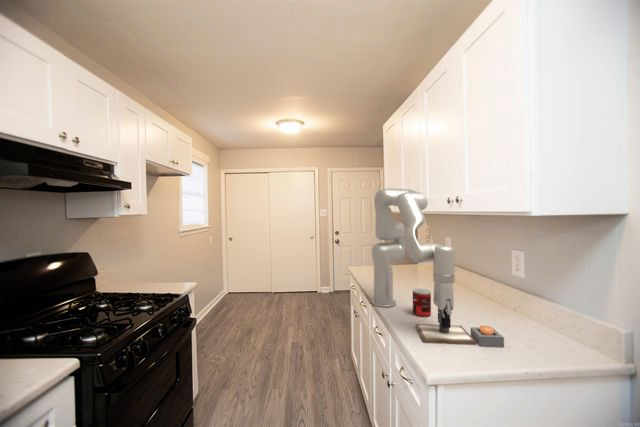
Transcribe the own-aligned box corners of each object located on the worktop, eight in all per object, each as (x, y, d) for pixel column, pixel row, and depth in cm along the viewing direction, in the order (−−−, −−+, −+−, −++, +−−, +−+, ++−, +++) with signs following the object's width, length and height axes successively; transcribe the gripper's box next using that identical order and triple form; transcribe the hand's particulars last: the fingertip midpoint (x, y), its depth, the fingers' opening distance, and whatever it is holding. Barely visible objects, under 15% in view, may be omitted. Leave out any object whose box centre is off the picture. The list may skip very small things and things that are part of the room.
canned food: (414, 310, 138) (414, 287, 138) (432, 313, 134) (432, 289, 134) (411, 315, 131) (410, 291, 131) (429, 318, 127) (429, 294, 127)
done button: (477, 333, 107) (477, 325, 107) (490, 333, 107) (490, 325, 107) (482, 338, 103) (482, 330, 103) (495, 339, 102) (495, 330, 102)
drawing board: (415, 327, 118) (415, 323, 118) (461, 328, 116) (461, 325, 116) (423, 342, 104) (423, 338, 104) (475, 344, 102) (475, 340, 102)
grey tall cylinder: (437, 328, 113) (437, 300, 112) (447, 328, 112) (447, 300, 112) (440, 332, 109) (440, 303, 109) (451, 332, 108) (451, 304, 108)
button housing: (470, 336, 109) (470, 327, 109) (492, 337, 108) (492, 327, 108) (479, 346, 101) (479, 336, 101) (503, 347, 100) (503, 337, 100)
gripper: (428, 273, 119) (428, 317, 119) (440, 283, 102) (440, 334, 103) (446, 273, 118) (447, 317, 118) (462, 283, 102) (462, 335, 102)
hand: (444, 324), depth 111 cm, fingers closed on grey tall cylinder, 3 cm apart
